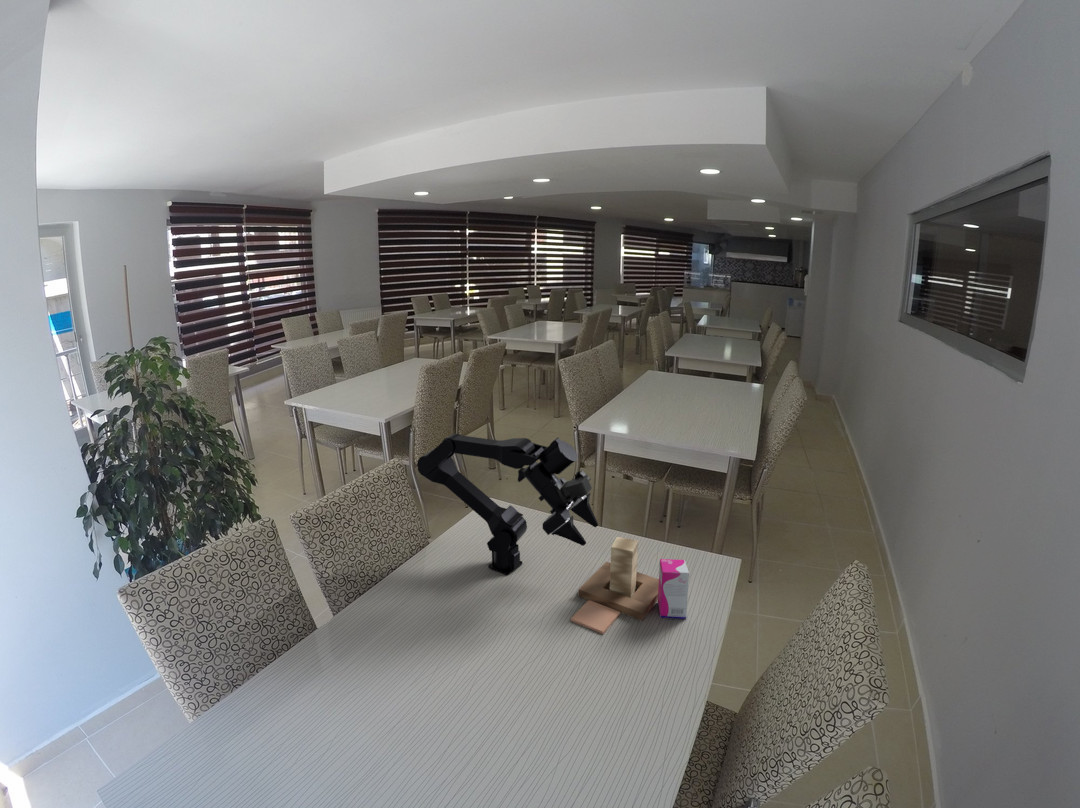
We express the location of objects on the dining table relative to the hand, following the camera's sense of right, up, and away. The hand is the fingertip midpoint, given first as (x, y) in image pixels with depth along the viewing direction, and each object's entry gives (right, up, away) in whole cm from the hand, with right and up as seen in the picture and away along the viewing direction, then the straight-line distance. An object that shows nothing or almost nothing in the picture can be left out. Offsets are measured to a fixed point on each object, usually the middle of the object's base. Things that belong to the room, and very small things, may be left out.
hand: (591, 535), depth 133 cm
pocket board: (+8, -14, +1) cm, 16 cm away
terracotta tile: (0, -16, -8) cm, 18 cm away
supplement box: (+17, -16, -5) cm, 24 cm away
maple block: (+8, -14, +1) cm, 16 cm away
